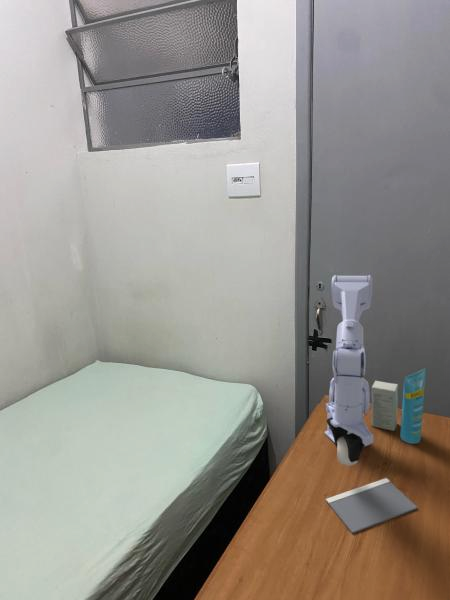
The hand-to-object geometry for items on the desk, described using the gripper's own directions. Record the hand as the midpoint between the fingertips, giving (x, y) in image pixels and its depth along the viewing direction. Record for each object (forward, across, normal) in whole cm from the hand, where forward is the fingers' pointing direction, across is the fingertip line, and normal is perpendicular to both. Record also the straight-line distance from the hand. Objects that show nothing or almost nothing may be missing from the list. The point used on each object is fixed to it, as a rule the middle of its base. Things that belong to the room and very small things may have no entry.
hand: (347, 453), depth 92 cm
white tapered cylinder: (+2, 0, 0) cm, 2 cm away
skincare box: (+7, -14, +22) cm, 27 cm away
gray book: (+7, +8, 0) cm, 11 cm away
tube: (+7, -6, +24) cm, 26 cm away
